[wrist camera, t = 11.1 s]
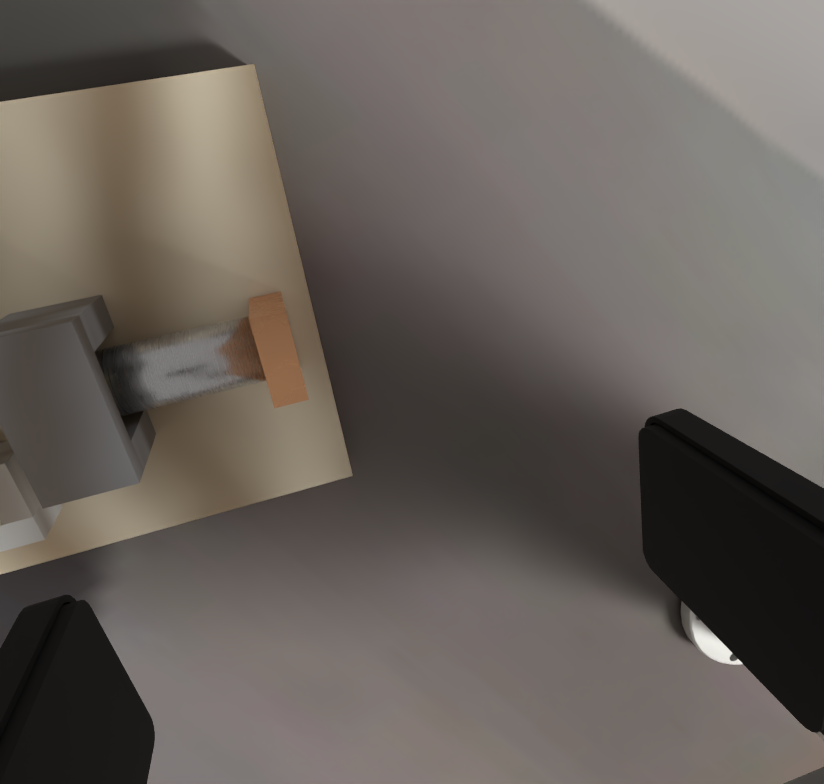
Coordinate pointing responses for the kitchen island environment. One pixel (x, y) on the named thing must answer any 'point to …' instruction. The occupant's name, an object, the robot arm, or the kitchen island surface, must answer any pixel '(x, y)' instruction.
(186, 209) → the dock
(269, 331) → the lock pin
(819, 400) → the kitchen island surface
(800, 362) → the kitchen island surface
